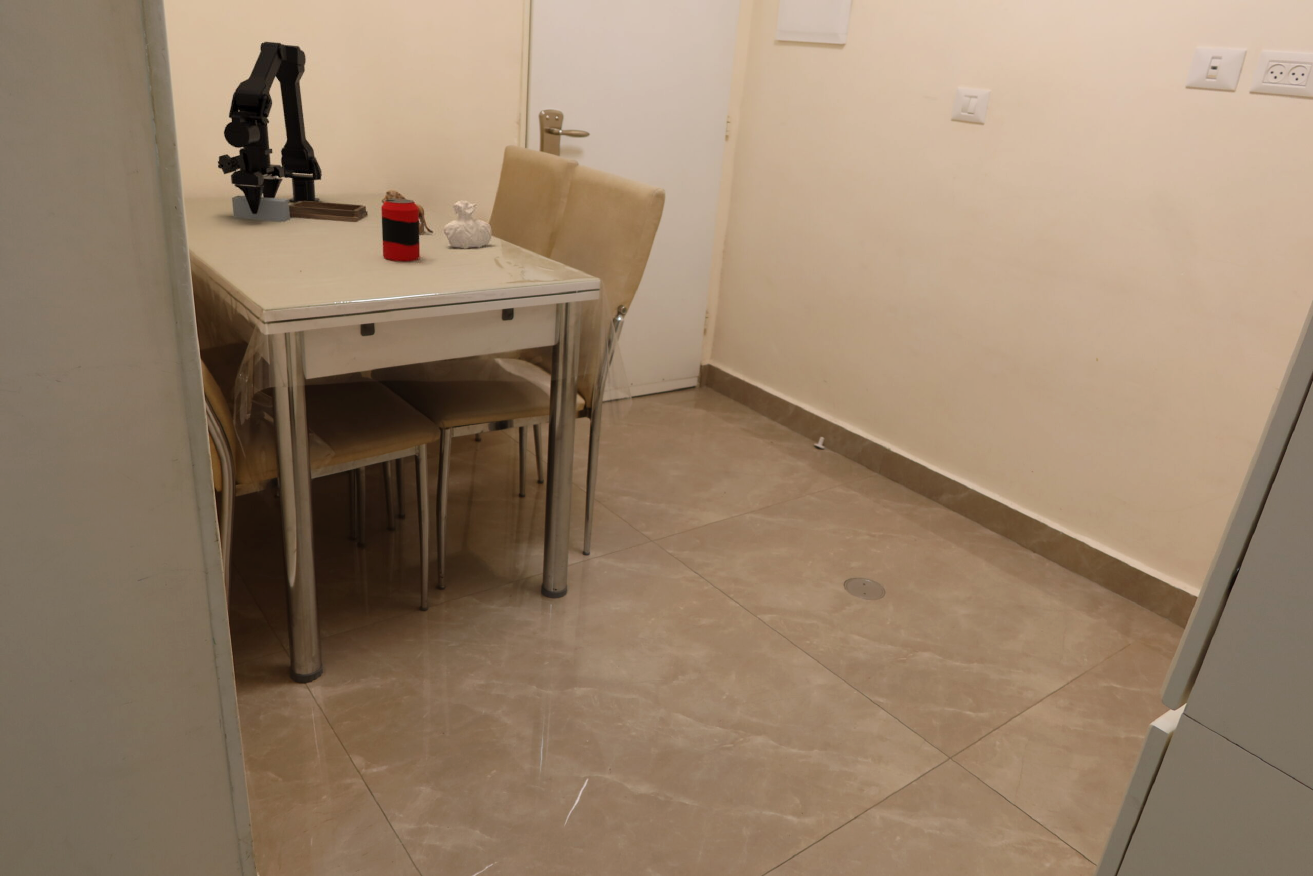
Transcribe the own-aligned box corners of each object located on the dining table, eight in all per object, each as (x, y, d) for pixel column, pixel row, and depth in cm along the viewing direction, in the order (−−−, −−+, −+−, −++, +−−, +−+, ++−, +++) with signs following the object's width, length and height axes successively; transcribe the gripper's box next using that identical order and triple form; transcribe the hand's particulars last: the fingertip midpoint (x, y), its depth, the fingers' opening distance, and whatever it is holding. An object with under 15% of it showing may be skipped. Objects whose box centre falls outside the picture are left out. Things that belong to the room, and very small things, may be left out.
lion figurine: (379, 227, 224) (377, 189, 220) (394, 224, 228) (393, 188, 225) (426, 236, 218) (425, 198, 215) (440, 233, 223) (440, 196, 219)
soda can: (381, 254, 196) (379, 197, 191) (416, 254, 199) (415, 198, 194) (385, 261, 190) (383, 203, 185) (422, 261, 192) (421, 204, 188)
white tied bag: (488, 253, 216) (474, 210, 217) (502, 238, 210) (487, 194, 212) (443, 256, 209) (428, 212, 210) (455, 241, 203) (440, 196, 204)
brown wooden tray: (301, 209, 237) (300, 200, 236) (367, 214, 238) (367, 205, 237) (287, 216, 226) (286, 206, 225) (356, 221, 228) (355, 211, 227)
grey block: (240, 216, 224) (238, 195, 222) (290, 219, 224) (288, 199, 222) (234, 218, 220) (231, 197, 218) (284, 222, 221) (283, 201, 219)
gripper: (236, 138, 223) (242, 202, 229) (204, 144, 206) (211, 214, 212) (282, 141, 224) (287, 206, 230) (254, 148, 207) (260, 217, 213)
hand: (261, 210), depth 221 cm, fingers open, 9 cm apart
